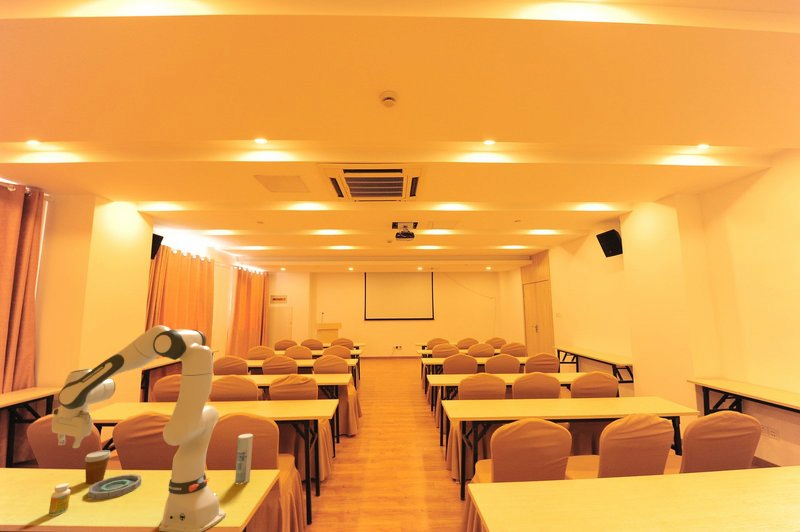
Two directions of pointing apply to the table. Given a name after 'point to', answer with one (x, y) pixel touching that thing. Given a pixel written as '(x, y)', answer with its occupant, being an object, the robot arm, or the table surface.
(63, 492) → the supplement bottle
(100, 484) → the round tray
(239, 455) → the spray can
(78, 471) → the table surface
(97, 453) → the disposable coffee cup
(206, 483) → the robot arm
